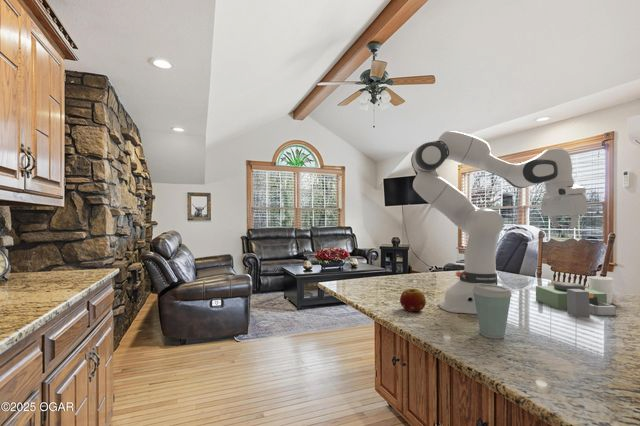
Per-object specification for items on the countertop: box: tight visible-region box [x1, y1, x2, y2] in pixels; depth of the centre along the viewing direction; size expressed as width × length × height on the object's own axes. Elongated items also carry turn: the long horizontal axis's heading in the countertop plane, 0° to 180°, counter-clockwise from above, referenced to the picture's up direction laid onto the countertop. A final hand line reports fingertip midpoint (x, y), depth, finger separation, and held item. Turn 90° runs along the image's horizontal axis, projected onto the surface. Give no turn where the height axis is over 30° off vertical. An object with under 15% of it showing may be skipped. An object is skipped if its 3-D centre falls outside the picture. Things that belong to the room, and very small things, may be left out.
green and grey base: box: [535, 281, 617, 316], centre depth 128 cm, size 18×21×8 cm
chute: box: [566, 289, 594, 318], centre depth 117 cm, size 6×4×9 cm
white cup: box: [587, 275, 614, 305], centre depth 135 cm, size 8×8×10 cm
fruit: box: [399, 288, 427, 313], centre depth 125 cm, size 10×9×8 cm
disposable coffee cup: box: [472, 283, 512, 340], centre depth 97 cm, size 11×11×15 cm
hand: (564, 227), depth 121 cm, fingers open, 8 cm apart
